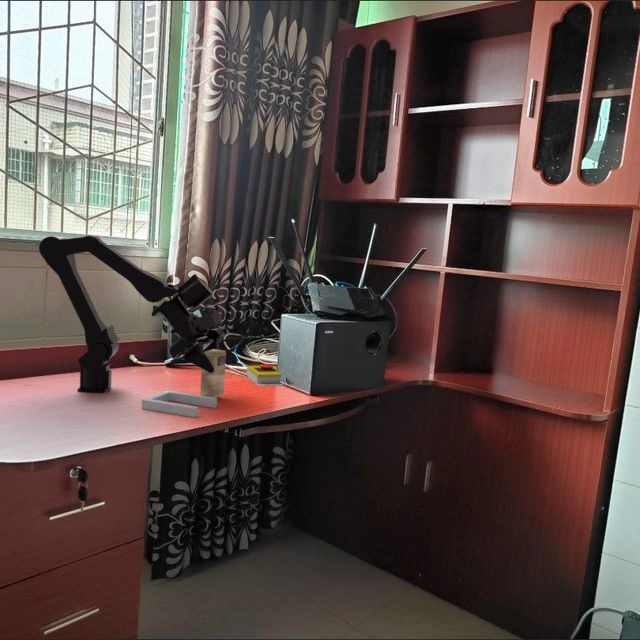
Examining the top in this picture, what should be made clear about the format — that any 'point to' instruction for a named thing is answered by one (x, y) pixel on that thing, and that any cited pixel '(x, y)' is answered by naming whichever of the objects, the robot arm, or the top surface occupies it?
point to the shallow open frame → (161, 404)
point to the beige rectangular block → (214, 374)
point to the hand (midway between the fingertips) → (218, 369)
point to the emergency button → (264, 375)
